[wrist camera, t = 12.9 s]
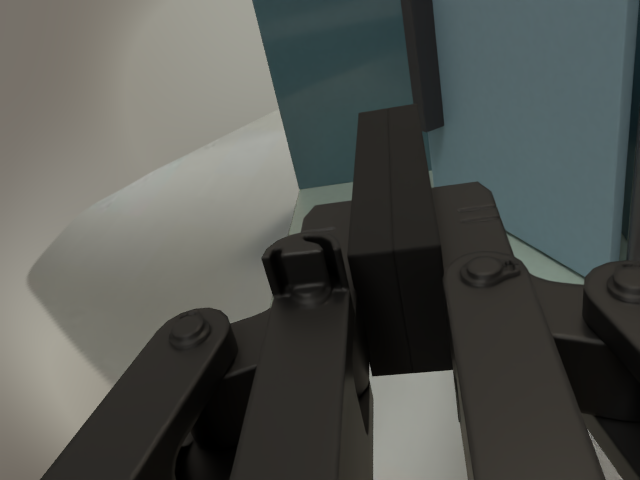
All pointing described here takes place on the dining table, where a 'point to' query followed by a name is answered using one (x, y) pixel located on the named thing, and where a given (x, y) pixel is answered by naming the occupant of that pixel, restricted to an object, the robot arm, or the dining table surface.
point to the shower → (376, 104)
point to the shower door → (531, 112)
